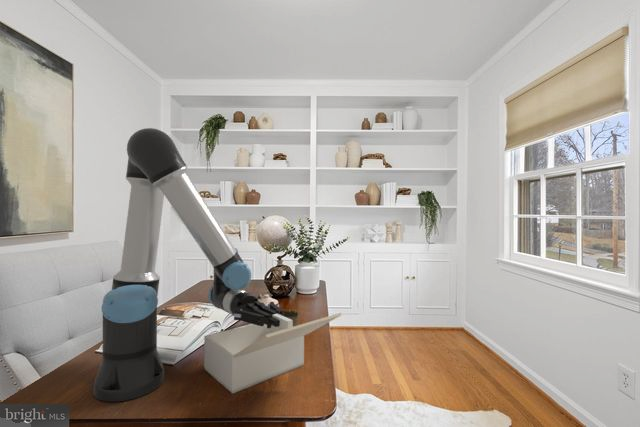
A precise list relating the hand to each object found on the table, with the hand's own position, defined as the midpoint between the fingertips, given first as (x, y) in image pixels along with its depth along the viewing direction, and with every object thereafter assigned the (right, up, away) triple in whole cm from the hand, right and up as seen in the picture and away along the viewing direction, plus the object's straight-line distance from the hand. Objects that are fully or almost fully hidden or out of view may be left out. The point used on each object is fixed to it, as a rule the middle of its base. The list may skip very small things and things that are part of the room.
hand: (290, 326), depth 81 cm
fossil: (-15, -14, +58) cm, 62 cm away
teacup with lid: (-12, -15, +44) cm, 48 cm away
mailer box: (-11, -15, +11) cm, 22 cm away
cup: (-4, -15, +34) cm, 37 cm away
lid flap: (0, -2, 0) cm, 2 cm away
